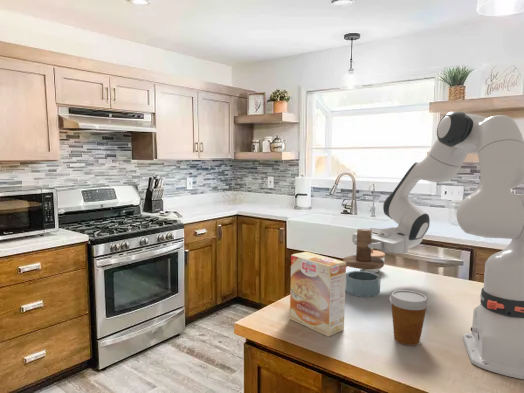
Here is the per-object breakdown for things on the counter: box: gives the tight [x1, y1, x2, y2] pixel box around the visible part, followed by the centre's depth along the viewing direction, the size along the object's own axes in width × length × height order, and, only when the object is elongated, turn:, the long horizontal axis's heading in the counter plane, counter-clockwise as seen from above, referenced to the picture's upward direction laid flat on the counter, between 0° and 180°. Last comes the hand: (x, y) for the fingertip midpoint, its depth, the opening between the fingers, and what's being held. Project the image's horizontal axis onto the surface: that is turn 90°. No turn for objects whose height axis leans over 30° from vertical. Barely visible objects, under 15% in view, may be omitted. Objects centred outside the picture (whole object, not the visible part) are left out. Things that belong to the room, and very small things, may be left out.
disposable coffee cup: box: [389, 289, 429, 346], centre depth 101 cm, size 10×10×12 cm
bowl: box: [345, 270, 382, 298], centre depth 138 cm, size 12×12×6 cm
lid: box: [342, 228, 385, 270], centre depth 137 cm, size 14×14×12 cm
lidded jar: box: [363, 249, 386, 274], centre depth 163 cm, size 11×11×9 cm
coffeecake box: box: [289, 251, 347, 337], centre depth 109 cm, size 15×7×20 cm, turn 40°
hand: (362, 244), depth 136 cm, fingers closed on lid, 5 cm apart
